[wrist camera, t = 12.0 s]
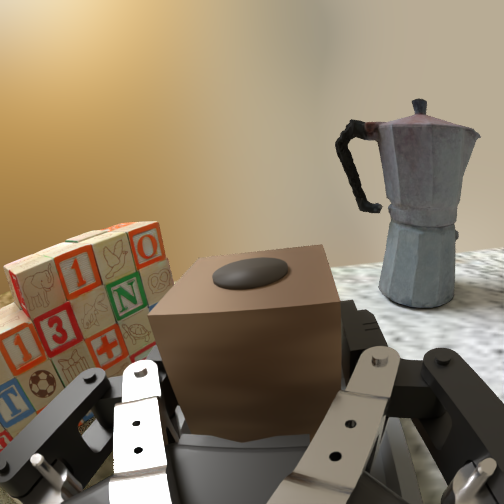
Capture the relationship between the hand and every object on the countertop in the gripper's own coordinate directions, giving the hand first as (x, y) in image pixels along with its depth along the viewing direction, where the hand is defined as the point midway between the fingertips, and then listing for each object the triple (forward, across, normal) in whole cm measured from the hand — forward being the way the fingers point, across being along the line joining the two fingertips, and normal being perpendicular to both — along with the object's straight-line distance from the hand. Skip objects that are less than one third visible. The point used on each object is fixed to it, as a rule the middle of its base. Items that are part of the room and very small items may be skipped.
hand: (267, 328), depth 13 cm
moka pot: (+18, -14, +9) cm, 24 cm away
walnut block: (-2, 0, +8) cm, 8 cm away
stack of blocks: (+3, +17, +9) cm, 19 cm away
